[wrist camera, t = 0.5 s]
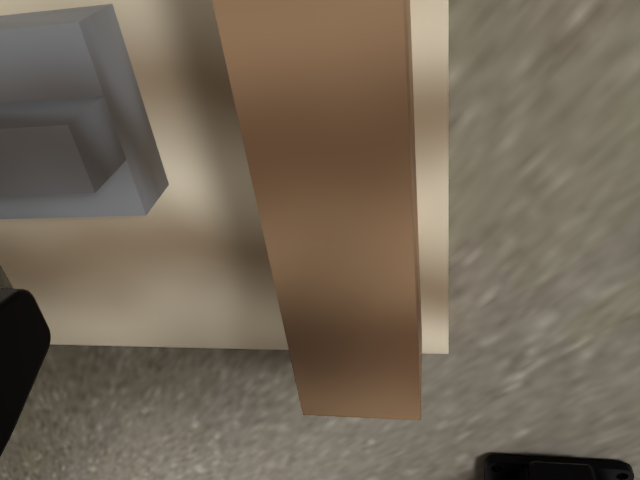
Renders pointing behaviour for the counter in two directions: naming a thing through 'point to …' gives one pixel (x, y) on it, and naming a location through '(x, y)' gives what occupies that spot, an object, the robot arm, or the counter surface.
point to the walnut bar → (335, 191)
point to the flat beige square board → (165, 176)
